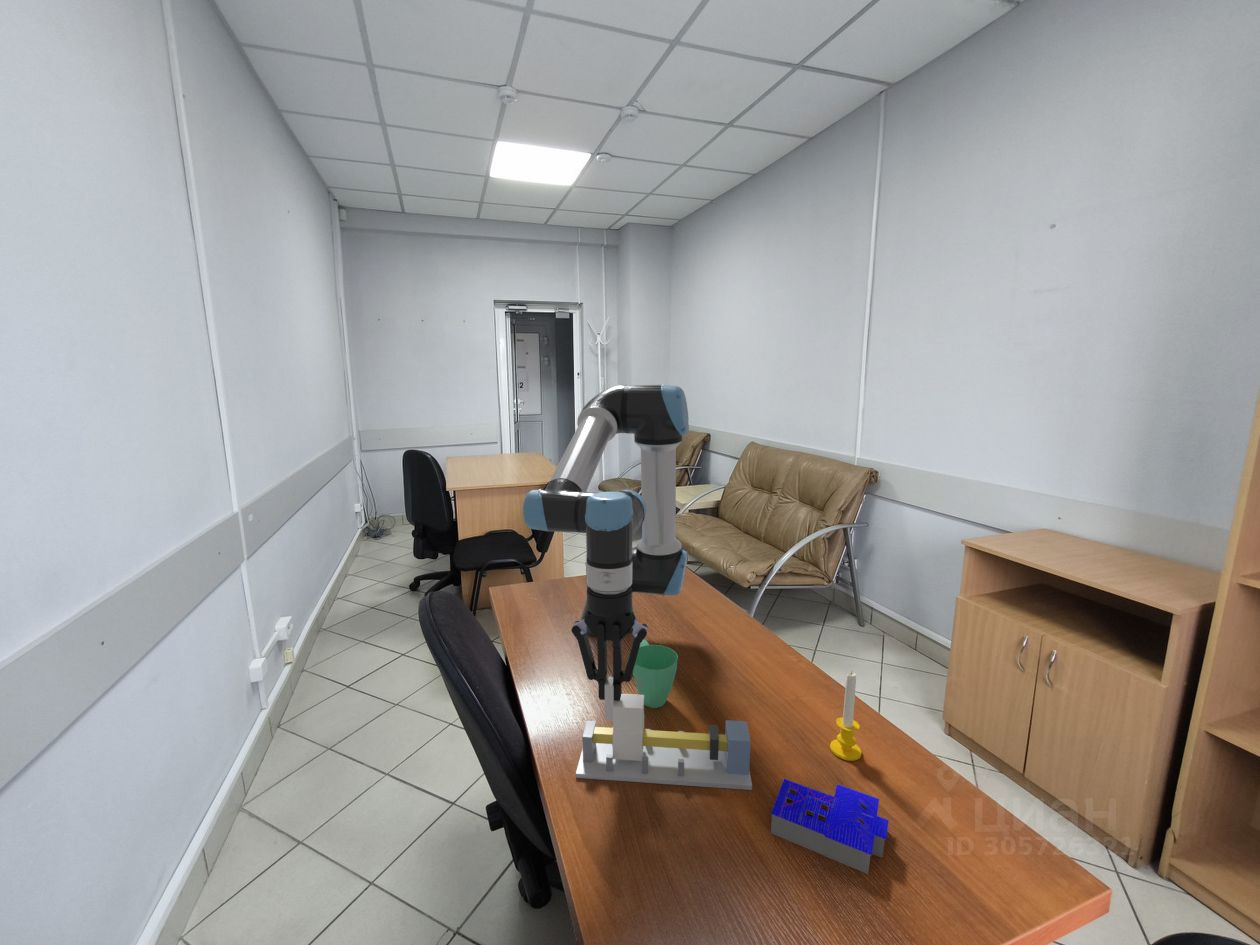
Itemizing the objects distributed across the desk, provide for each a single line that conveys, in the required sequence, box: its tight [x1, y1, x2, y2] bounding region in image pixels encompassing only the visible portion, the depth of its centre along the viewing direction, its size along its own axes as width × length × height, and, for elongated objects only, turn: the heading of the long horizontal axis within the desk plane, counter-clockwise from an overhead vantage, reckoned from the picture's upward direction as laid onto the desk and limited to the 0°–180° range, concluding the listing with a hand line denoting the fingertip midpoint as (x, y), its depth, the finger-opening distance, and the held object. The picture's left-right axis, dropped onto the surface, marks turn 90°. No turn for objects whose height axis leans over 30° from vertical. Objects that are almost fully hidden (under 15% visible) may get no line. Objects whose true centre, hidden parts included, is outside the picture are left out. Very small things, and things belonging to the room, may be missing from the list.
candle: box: [829, 671, 863, 762], centre depth 94 cm, size 5×5×16 cm
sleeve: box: [612, 693, 645, 761], centre depth 91 cm, size 5×5×9 cm
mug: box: [632, 639, 679, 709], centre depth 111 cm, size 15×10×10 cm
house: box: [770, 778, 889, 875], centre depth 78 cm, size 11×15×5 cm
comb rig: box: [575, 719, 753, 791], centre depth 91 cm, size 29×10×7 cm, turn 85°
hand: (610, 715), depth 91 cm, fingers closed
